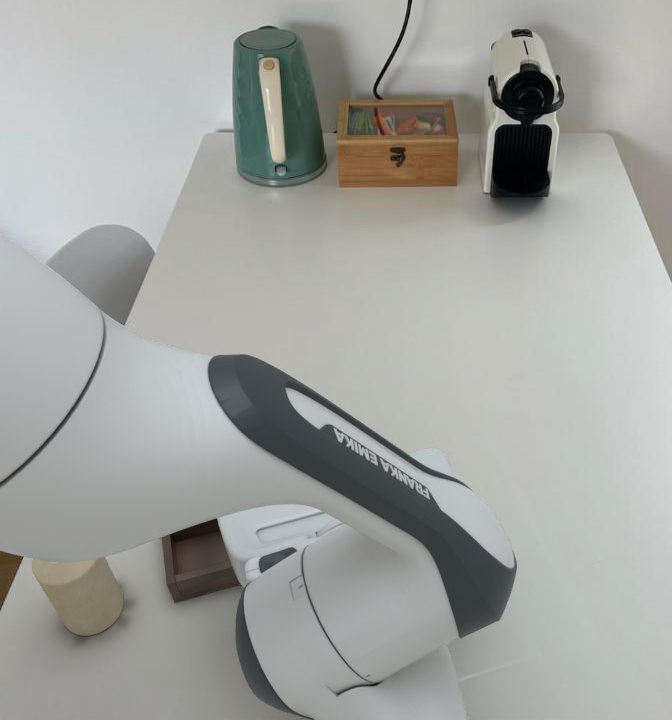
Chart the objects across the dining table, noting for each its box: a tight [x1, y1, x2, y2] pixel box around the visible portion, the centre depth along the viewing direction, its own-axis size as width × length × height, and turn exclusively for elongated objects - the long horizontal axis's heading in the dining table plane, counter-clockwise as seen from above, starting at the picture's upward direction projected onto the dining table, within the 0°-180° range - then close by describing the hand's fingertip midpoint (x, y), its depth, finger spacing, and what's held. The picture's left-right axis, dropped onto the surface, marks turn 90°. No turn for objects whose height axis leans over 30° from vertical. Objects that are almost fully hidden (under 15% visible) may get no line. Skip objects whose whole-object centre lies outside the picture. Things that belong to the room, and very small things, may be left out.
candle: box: [31, 557, 125, 637], centre depth 72 cm, size 6×6×10 cm
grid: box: [161, 518, 241, 603], centre depth 81 cm, size 20×13×3 cm
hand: (321, 446), depth 74 cm, fingers closed on rook chess piece, 3 cm apart
